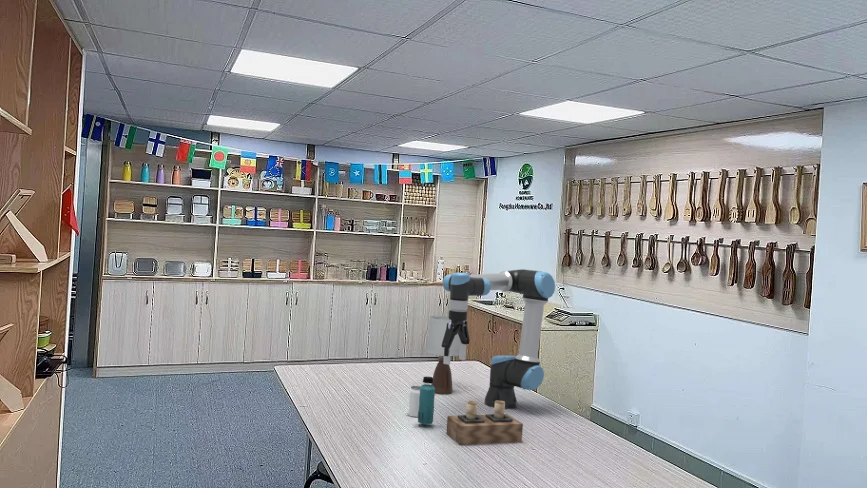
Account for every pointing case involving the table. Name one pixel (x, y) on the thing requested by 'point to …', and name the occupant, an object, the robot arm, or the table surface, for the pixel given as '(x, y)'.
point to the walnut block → (484, 429)
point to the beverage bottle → (426, 402)
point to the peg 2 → (499, 409)
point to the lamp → (441, 353)
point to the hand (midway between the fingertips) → (454, 361)
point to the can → (414, 401)
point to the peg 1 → (471, 410)
